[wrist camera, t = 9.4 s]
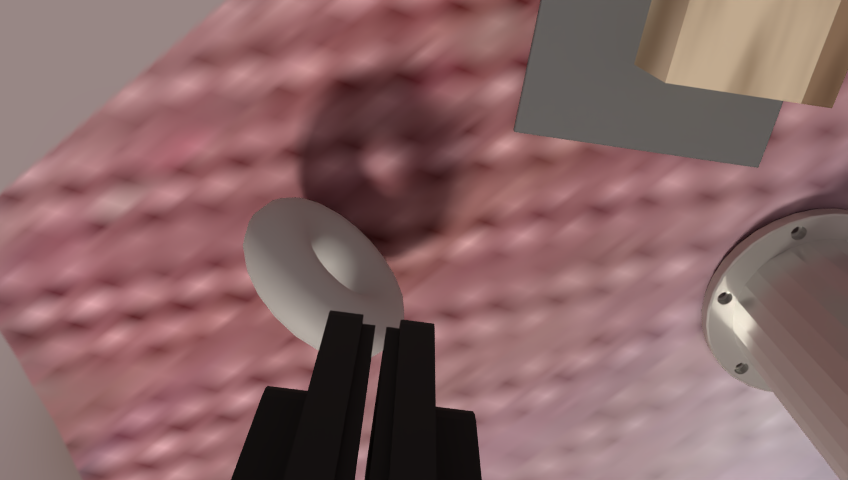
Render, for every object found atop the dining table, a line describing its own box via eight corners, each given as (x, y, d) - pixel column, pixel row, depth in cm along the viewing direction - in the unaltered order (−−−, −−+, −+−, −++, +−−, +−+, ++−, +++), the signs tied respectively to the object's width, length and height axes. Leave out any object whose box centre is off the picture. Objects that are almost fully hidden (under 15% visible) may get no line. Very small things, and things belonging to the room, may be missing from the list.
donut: (256, 201, 38) (202, 281, 29) (294, 161, 37) (250, 231, 28) (380, 305, 41) (366, 408, 32) (419, 271, 40) (416, 367, 31)
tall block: (661, -38, 32) (816, -13, 33) (633, 64, 34) (779, 86, 35) (700, -35, 28) (878, -6, 28) (665, 82, 30) (832, 108, 30)
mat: (841, -65, 32) (845, -65, 32) (754, 165, 37) (758, 167, 37) (563, -112, 31) (565, -112, 31) (513, 129, 36) (514, 131, 36)
